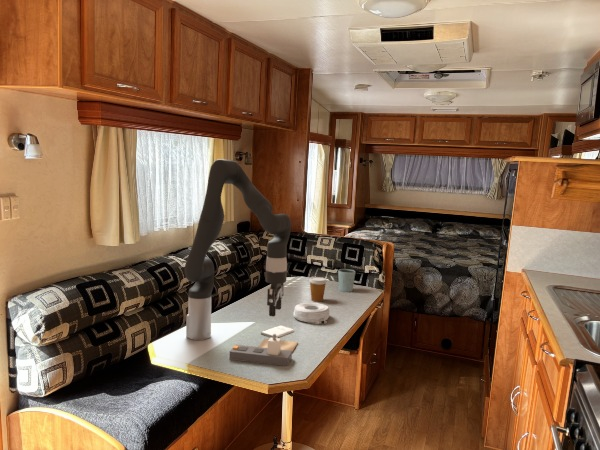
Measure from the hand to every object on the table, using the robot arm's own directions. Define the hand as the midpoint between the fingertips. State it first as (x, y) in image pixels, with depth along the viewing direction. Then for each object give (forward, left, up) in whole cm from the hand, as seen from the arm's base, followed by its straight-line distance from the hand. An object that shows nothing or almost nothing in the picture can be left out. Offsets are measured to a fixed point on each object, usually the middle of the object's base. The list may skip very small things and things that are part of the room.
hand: (275, 312), depth 169 cm
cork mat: (-2, +14, -18) cm, 23 cm away
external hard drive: (-6, +29, -19) cm, 35 cm away
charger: (0, 0, -18) cm, 18 cm away
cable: (+4, +54, -19) cm, 57 cm away
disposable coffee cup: (+2, +85, -19) cm, 87 cm away
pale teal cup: (+15, +112, -19) cm, 114 cm away
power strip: (-5, 0, -18) cm, 19 cm away
